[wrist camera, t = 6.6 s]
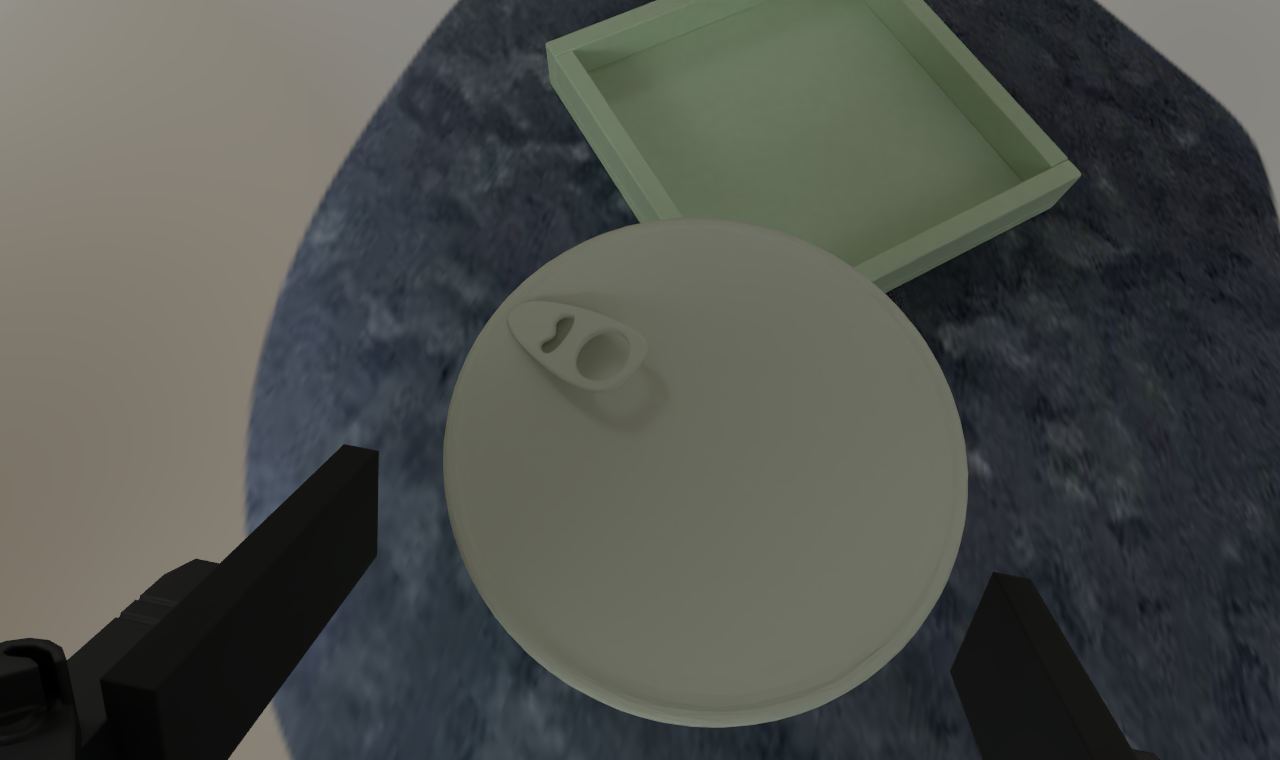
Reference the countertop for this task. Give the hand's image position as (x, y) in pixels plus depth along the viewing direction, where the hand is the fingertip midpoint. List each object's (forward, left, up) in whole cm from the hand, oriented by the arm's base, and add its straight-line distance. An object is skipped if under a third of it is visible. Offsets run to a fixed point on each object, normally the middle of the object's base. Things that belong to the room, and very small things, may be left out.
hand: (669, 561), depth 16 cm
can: (+2, 0, -8) cm, 8 cm away
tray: (+18, -5, -8) cm, 20 cm away
